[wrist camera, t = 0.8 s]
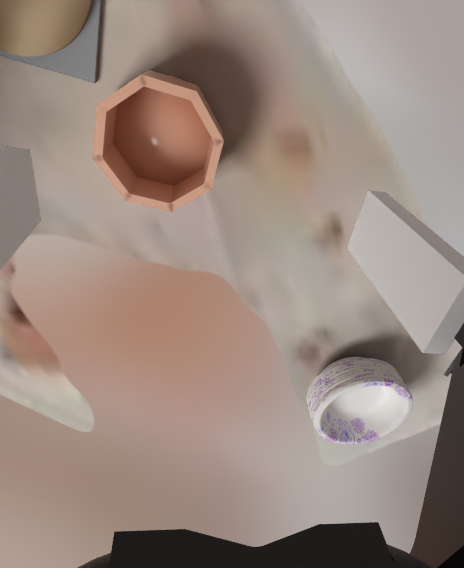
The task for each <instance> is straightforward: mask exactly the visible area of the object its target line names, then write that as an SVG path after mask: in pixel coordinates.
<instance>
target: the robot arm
mask: <svg viewBox="0 0 464 568" xmlns="http://www.w3.org/2000/svg"><path fill="white" fill-rule="evenodd" d="M40 221H41V217H40V210H39V204H38V198H37V191H36V185H35V179H34V172H33V166H32V159H31V153H30V149H22V148H13V147H6V148H4V149H2V150H1V151H0V270H1V269H2V268H3V266H4V265H5V264H6V263H7V261H8V260H9V259H10V258H11V256H12V255H13V254H14V253H15V252H16V250H17V249H18V247H20V245H21V244H22V243H23V242H24V240H25V239H26V238H27V237H28V235H29V234H30V233H31V232H32V231H33V229H34V228H35V227H36V226H37V224H38V223H39V222H40ZM347 249H348V250H349V252H350V253H351V254H352V256H353V257H354V259H355V260H356V261H357V263H358V264H359V266H360V267H361V268H362V270H363V271H364V272H365V274H366V275H367V277H368V278H369V279H370V281H371V282H372V284H373V285H374V286H375V288H376V289H377V290H378V292H379V293H380V295H381V296H382V297H383V299H384V300H385V302H386V303H387V304H388V306H389V307H390V309H391V310H392V311H393V313H394V314H395V315H396V317H397V318H398V320H399V321H400V322H401V324H402V325H403V327H404V328H405V329H406V331H407V332H408V333H409V335H410V336H411V338H412V339H413V340H414V342H415V343H416V345H417V346H418V347H419V349H420V350H421V352H422V353H434V354H445V353H446V351H447V350H448V348H449V347H450V345H451V344H452V342H453V341H454V339H456V340H457V342H458V343H459V344H460V345H461V346H462V347H463V348H462V349H461V350H460V352H459V353H458V355H457V356H456V358H455V359H454V361H453V362H452V364H451V365H450V366H449V368H448V369H447V371H446V372H445V374H444V375H446V376H448V375H449V374H450V373H452V376H451V381H450V385H449V390H448V394H447V399H446V403H445V408H444V412H443V417H442V421H441V426H440V431H439V435H438V439H437V444H436V448H435V453H434V457H433V462H432V466H431V471H430V475H429V480H428V484H427V489H426V493H425V497H424V502H423V507H422V512H421V516H420V520H419V525H418V529H417V533H416V538H415V542H414V545H413V547H412V550H411V552H410V554H408V553H407V552H405V551H402V550H400V549H397V548H395V547H392V546H390V545H387V544H386V541H385V539H384V537H383V534H382V531H381V528H380V526H379V523H377V522H375V523H348V524H319V525H316V526H314V527H311V528H309V529H306V530H303V531H301V532H298V533H296V534H293V535H290V536H288V537H285V538H283V539H280V540H277V541H275V542H272V543H269V544H267V545H264V546H261V547H251V546H246V545H243V544H239V543H235V542H231V541H228V540H223V539H220V538H216V537H212V536H209V535H205V534H201V533H197V532H193V531H189V530H186V529H178V530H150V531H123V532H114V538H113V545H112V551H111V553H109V554H107V555H104V556H101V557H98V558H96V559H94V560H92V561H90V562H88V563H86V564H84V565H82V566H80V567H78V568H464V257H463V256H462V255H461V254H460V253H459V252H457V251H456V250H455V249H454V248H452V247H451V246H450V245H449V244H448V243H446V242H445V241H444V240H443V239H442V238H440V237H439V236H438V235H437V234H435V233H434V232H433V231H432V230H431V229H429V228H428V227H427V226H426V225H424V224H423V223H422V222H421V221H420V220H418V219H417V218H416V217H415V216H414V215H412V214H411V213H410V212H409V211H407V210H406V209H405V208H404V207H403V206H401V205H400V204H399V203H398V202H397V201H395V200H394V199H393V198H392V197H390V196H389V195H388V194H387V193H386V192H379V191H371V190H368V193H367V195H366V198H365V201H364V204H363V206H362V209H361V212H360V214H359V217H358V220H357V223H356V225H355V228H354V231H353V233H352V236H351V239H350V242H349V244H348V247H347Z"/></svg>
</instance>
